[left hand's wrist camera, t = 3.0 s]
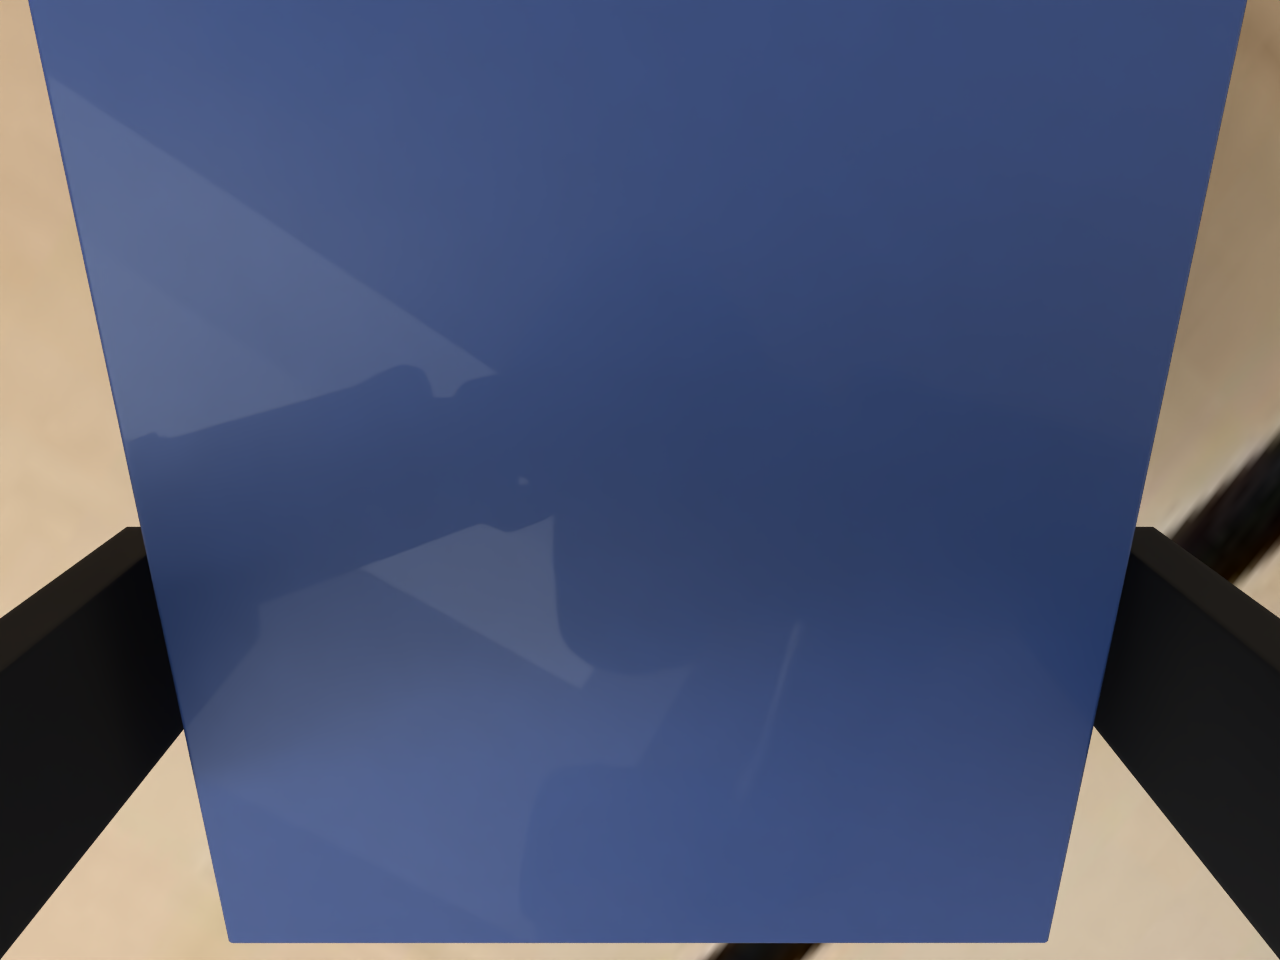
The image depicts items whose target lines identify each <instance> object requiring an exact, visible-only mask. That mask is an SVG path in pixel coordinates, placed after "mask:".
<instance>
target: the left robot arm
mask: <svg viewBox="0 0 1280 960" xmlns="http://www.w3.org/2000/svg"><path fill="white" fill-rule="evenodd" d="M1093 726H1094V727H1095V728H1096V729H1097V731H1098V732H1099V733H1100V734H1101V736H1102V737H1103V738H1104V739H1105V741H1106V742H1107V743H1108V744H1109V746H1110V747H1111V748H1112V749H1113V751H1114V752H1115V753H1116V754H1117V756H1118V757H1119V758H1120V759H1121V761H1122V762H1123V763H1124V765H1125V766H1126V767H1127V768H1128V770H1129V771H1130V772H1131V773H1132V775H1133V776H1134V777H1135V778H1136V780H1137V781H1138V782H1139V783H1140V785H1141V786H1142V787H1143V788H1144V790H1145V791H1146V792H1147V793H1148V795H1149V796H1150V797H1151V798H1152V800H1153V801H1154V802H1155V803H1156V805H1157V806H1158V807H1159V808H1160V810H1161V811H1162V812H1163V814H1164V815H1165V816H1166V817H1167V819H1168V820H1169V821H1170V822H1171V824H1172V825H1173V826H1174V827H1175V829H1176V830H1177V831H1178V832H1179V834H1180V835H1181V836H1182V837H1183V839H1184V840H1185V841H1186V842H1187V844H1188V845H1189V846H1190V847H1191V849H1192V850H1193V851H1194V852H1195V854H1196V855H1197V856H1198V857H1199V859H1200V860H1201V861H1202V863H1203V864H1204V865H1205V866H1206V868H1207V869H1208V870H1209V871H1210V873H1211V874H1212V875H1213V876H1214V878H1215V879H1216V880H1217V881H1218V883H1219V884H1220V885H1221V886H1222V888H1223V889H1224V890H1225V891H1226V893H1227V894H1228V895H1229V896H1230V898H1231V899H1232V900H1233V901H1234V903H1235V904H1236V905H1237V906H1238V908H1239V909H1240V910H1241V912H1242V913H1243V914H1244V915H1245V917H1246V918H1247V919H1248V920H1249V922H1250V923H1251V924H1252V925H1253V927H1254V928H1255V929H1256V930H1257V932H1258V933H1259V934H1260V935H1261V937H1262V938H1263V939H1264V940H1265V942H1266V943H1267V944H1268V945H1269V947H1270V948H1271V949H1272V950H1273V952H1274V953H1275V954H1276V955H1277V957H1278V958H1279V959H1280V618H1278V617H1277V616H1276V615H1274V614H1273V613H1271V612H1270V611H1269V610H1267V609H1266V608H1265V607H1263V606H1262V605H1260V604H1259V603H1258V602H1256V601H1255V600H1253V599H1252V598H1251V597H1249V596H1248V595H1247V594H1245V593H1244V592H1242V591H1241V590H1240V589H1238V588H1237V587H1235V586H1234V585H1233V584H1231V583H1230V582H1229V581H1227V580H1226V579H1224V578H1223V577H1222V576H1220V575H1219V574H1217V573H1216V572H1215V571H1213V570H1212V569H1211V568H1209V567H1208V566H1206V565H1205V564H1204V563H1202V562H1201V561H1200V560H1198V559H1197V558H1195V557H1194V556H1193V555H1191V554H1190V553H1188V552H1187V551H1186V550H1184V549H1183V548H1182V547H1180V546H1179V545H1177V544H1176V543H1175V542H1173V541H1172V540H1170V539H1169V538H1168V537H1166V536H1165V535H1164V534H1162V533H1161V532H1159V531H1158V530H1157V529H1155V528H1154V527H1135V532H1134V536H1133V541H1132V546H1131V550H1130V555H1129V560H1128V565H1127V569H1126V574H1125V579H1124V584H1123V588H1122V593H1121V598H1120V602H1119V607H1118V612H1117V617H1116V621H1115V626H1114V631H1113V635H1112V640H1111V645H1110V650H1109V654H1108V659H1107V664H1106V668H1105V673H1104V678H1103V683H1102V687H1101V692H1100V697H1099V702H1098V706H1097V711H1096V716H1095V720H1094V725H1093ZM183 729H184V728H183V723H182V718H181V713H180V709H179V704H178V699H177V695H176V690H175V685H174V681H173V676H172V671H171V667H170V662H169V657H168V653H167V648H166V643H165V639H164V634H163V629H162V624H161V620H160V615H159V610H158V606H157V601H156V596H155V592H154V587H153V582H152V578H151V573H150V568H149V564H148V559H147V554H146V550H145V545H144V540H143V535H142V531H141V527H126V528H125V529H123V530H122V531H121V532H119V533H118V534H116V535H115V536H114V537H112V538H111V539H110V540H108V541H107V542H105V543H104V544H103V545H101V546H100V547H98V548H97V549H96V550H94V551H93V552H92V553H90V554H89V555H87V556H86V557H85V558H83V559H82V560H80V561H79V562H78V563H76V564H75V565H74V566H72V567H71V568H69V569H68V570H67V571H65V572H64V573H63V574H61V575H60V576H58V577H57V578H56V579H54V580H53V581H51V582H50V583H49V584H47V585H46V586H45V587H43V588H42V589H40V590H39V591H38V592H36V593H35V594H33V595H32V596H31V597H29V598H28V599H27V600H25V601H24V602H22V603H21V604H20V605H18V606H17V607H15V608H14V609H13V610H11V611H10V612H9V613H7V614H6V615H4V616H3V617H2V618H0V959H1V958H2V957H3V955H4V954H5V953H6V952H7V950H8V949H9V948H10V947H11V945H12V944H13V943H14V942H15V940H16V939H17V938H18V937H19V935H20V934H21V933H22V932H23V930H24V929H25V928H26V927H27V925H28V924H29V923H30V922H31V920H32V919H33V918H34V917H35V915H36V914H37V913H38V912H39V910H40V909H41V908H42V906H43V905H44V904H45V903H46V901H47V900H48V899H49V898H50V896H51V895H52V894H53V893H54V891H55V890H56V889H57V888H58V886H59V885H60V884H61V883H62V881H63V880H64V879H65V878H66V876H67V875H68V874H69V873H70V871H71V870H72V869H73V868H74V866H75V865H76V864H77V863H78V861H79V860H80V859H81V857H82V856H83V855H84V854H85V852H86V851H87V850H88V849H89V847H90V846H91V845H92V844H93V842H94V841H95V840H96V839H97V837H98V836H99V835H100V834H101V832H102V831H103V830H104V829H105V827H106V826H107V825H108V824H109V822H110V821H111V820H112V819H113V817H114V816H115V815H116V814H117V812H118V811H119V810H120V808H121V807H122V806H123V805H124V803H125V802H126V801H127V800H128V798H129V797H130V796H131V795H132V793H133V792H134V791H135V790H136V788H137V787H138V786H139V785H140V783H141V782H142V781H143V780H144V778H145V777H146V776H147V775H148V773H149V772H150V771H151V770H152V768H153V767H154V766H155V765H156V763H157V762H158V761H159V759H160V758H161V757H162V756H163V754H164V753H165V752H166V751H167V749H168V748H169V747H170V746H171V744H172V743H173V742H174V741H175V739H176V738H177V737H178V736H179V734H180V733H181V732H182V731H183Z"/></svg>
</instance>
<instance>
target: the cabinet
mask: <svg viewBox="0 0 1280 960" xmlns="http://www.w3.org/2000/svg"><path fill="white" fill-rule="evenodd" d="M28 2H29V6H30V11H31V16H32V20H33V25H34V30H35V34H36V39H37V44H38V48H39V53H40V58H41V62H42V67H43V72H44V76H45V81H46V86H47V91H48V95H49V100H50V105H51V109H52V114H53V119H54V123H55V128H56V133H57V137H58V142H59V147H60V151H61V156H62V161H63V165H64V170H65V175H66V180H67V184H68V189H69V194H70V198H71V203H72V208H73V212H74V217H75V222H76V226H77V231H78V236H79V240H80V245H81V250H82V254H83V259H84V264H85V268H86V273H87V278H88V283H89V287H90V292H91V297H92V301H93V306H94V311H95V315H96V320H97V325H98V329H99V334H100V339H101V343H102V348H103V353H104V357H105V362H106V367H107V372H108V376H109V381H110V386H111V390H112V395H113V400H114V404H115V409H116V414H117V418H118V423H119V428H120V432H121V437H122V442H123V446H124V451H125V456H126V461H127V465H128V470H129V475H130V479H131V484H132V489H133V493H134V498H135V503H136V507H137V512H138V517H139V521H140V526H141V531H142V535H143V540H144V545H145V550H146V554H147V559H148V564H149V568H150V573H151V578H152V582H153V587H154V592H155V596H156V601H157V606H158V610H159V615H160V620H161V624H162V629H163V634H164V639H165V643H166V648H167V653H168V657H169V662H170V667H171V671H172V676H173V681H174V685H175V690H176V695H177V699H178V704H179V709H180V713H181V718H182V723H183V728H184V732H185V737H186V742H187V746H188V751H189V756H190V760H191V765H192V770H193V774H194V779H195V784H196V788H197V793H198V798H199V802H200V807H201V812H202V817H203V821H204V826H205V831H206V835H207V840H208V845H209V849H210V854H211V859H212V863H213V868H214V873H215V877H216V882H217V887H218V891H219V896H220V901H221V905H222V910H223V915H224V920H225V924H226V929H227V934H228V938H229V941H230V942H231V943H1045V942H1047V941H1048V938H1049V933H1050V928H1051V923H1052V919H1053V914H1054V909H1055V904H1056V900H1057V895H1058V890H1059V886H1060V881H1061V876H1062V871H1063V867H1064V862H1065V857H1066V853H1067V848H1068V843H1069V838H1070V834H1071V829H1072V824H1073V820H1074V815H1075V810H1076V805H1077V801H1078V796H1079V791H1080V786H1081V782H1082V777H1083V772H1084V768H1085V763H1086V758H1087V753H1088V749H1089V744H1090V739H1091V735H1092V730H1093V725H1094V720H1095V716H1096V711H1097V706H1098V702H1099V697H1100V692H1101V687H1102V683H1103V678H1104V673H1105V668H1106V664H1107V659H1108V654H1109V650H1110V645H1111V640H1112V635H1113V631H1114V626H1115V621H1116V617H1117V612H1118V607H1119V602H1120V598H1121V593H1122V588H1123V584H1124V579H1125V574H1126V569H1127V565H1128V560H1129V555H1130V550H1131V546H1132V541H1133V536H1134V532H1135V527H1136V522H1137V517H1138V513H1139V508H1140V503H1141V499H1142V494H1143V489H1144V484H1145V480H1146V475H1147V470H1148V465H1149V461H1150V456H1151V451H1152V447H1153V442H1154V437H1155V432H1156V428H1157V423H1158V418H1159V414H1160V409H1161V404H1162V399H1163V395H1164V390H1165V385H1166V381H1167V376H1168V371H1169V366H1170V362H1171V357H1172V352H1173V347H1174V343H1175V338H1176V333H1177V329H1178V324H1179V319H1180V314H1181V310H1182V305H1183V300H1184V296H1185V291H1186V286H1187V281H1188V277H1189V272H1190V267H1191V263H1192V258H1193V253H1194V248H1195V244H1196V239H1197V234H1198V229H1199V225H1200V220H1201V215H1202V211H1203V206H1204V201H1205V196H1206V192H1207V187H1208V182H1209V178H1210V173H1211V168H1212V163H1213V159H1214V154H1215V149H1216V145H1217V140H1218V135H1219V130H1220V126H1221V121H1222V116H1223V111H1224V107H1225V102H1226V97H1227V93H1228V88H1229V83H1230V78H1231V74H1232V69H1233V64H1234V60H1235V55H1236V50H1237V45H1238V41H1239V36H1240V31H1241V26H1242V22H1243V17H1244V12H1245V8H1246V3H1247V0H28Z"/></svg>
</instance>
